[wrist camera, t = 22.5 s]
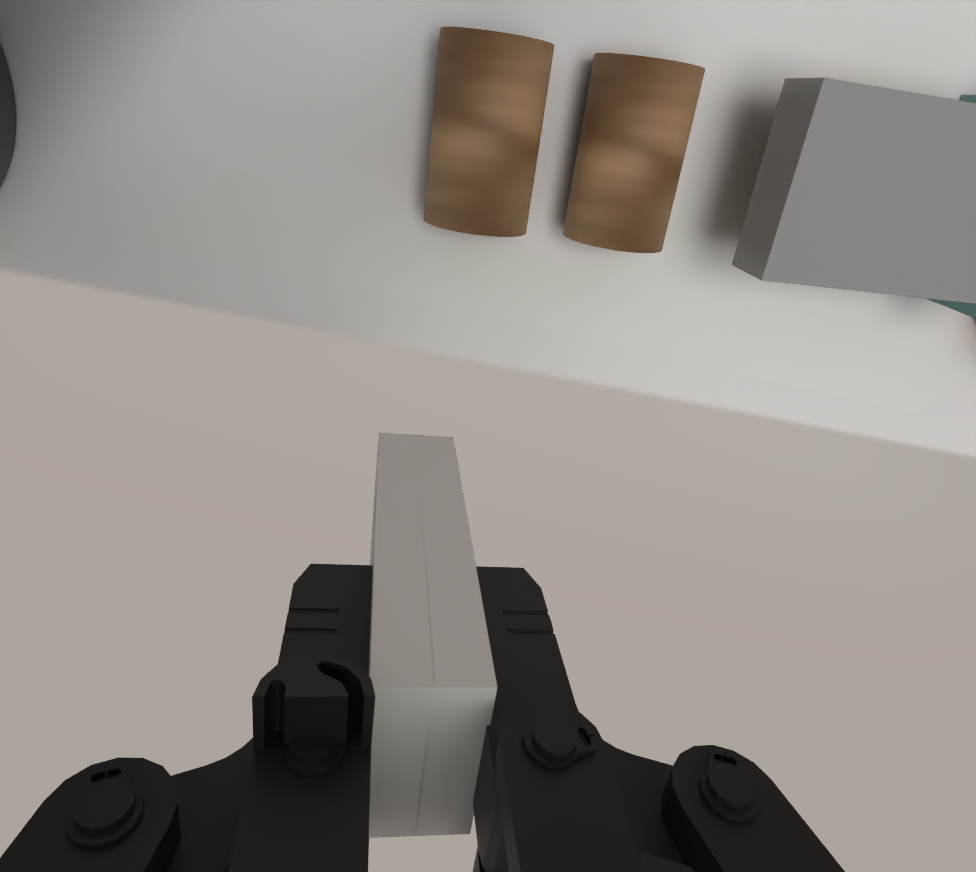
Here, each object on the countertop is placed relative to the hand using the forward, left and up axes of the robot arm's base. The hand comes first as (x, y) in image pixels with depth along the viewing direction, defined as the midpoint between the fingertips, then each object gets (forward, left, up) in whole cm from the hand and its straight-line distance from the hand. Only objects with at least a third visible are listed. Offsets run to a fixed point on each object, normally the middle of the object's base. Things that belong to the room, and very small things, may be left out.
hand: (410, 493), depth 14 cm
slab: (+22, +6, -19) cm, 30 cm away
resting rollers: (+7, +6, -24) cm, 26 cm away
